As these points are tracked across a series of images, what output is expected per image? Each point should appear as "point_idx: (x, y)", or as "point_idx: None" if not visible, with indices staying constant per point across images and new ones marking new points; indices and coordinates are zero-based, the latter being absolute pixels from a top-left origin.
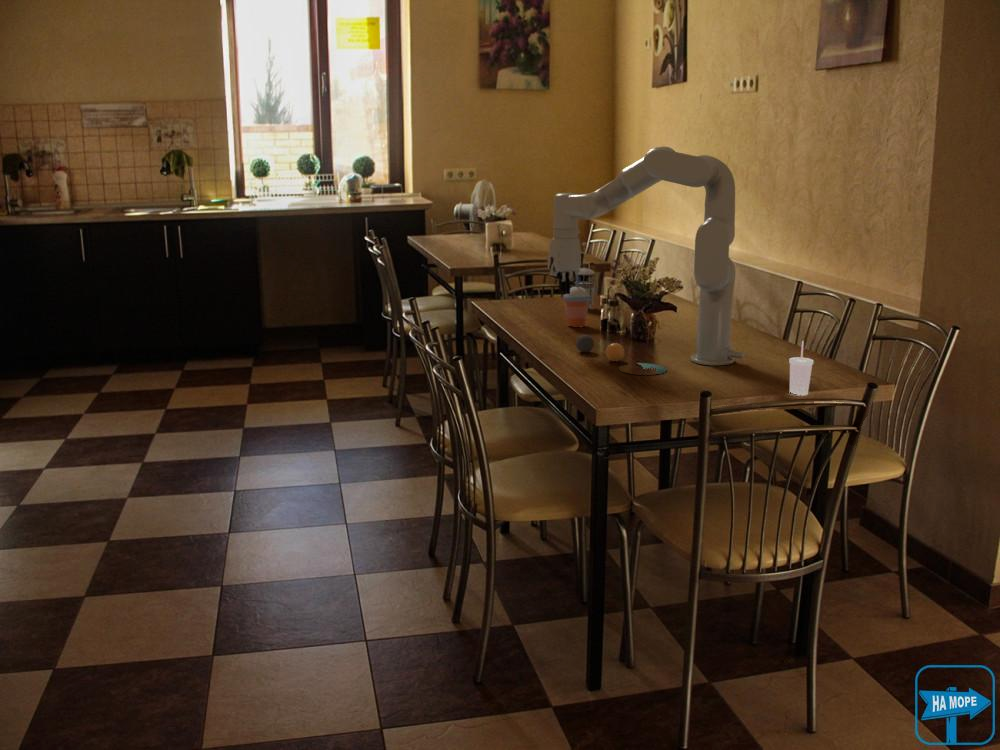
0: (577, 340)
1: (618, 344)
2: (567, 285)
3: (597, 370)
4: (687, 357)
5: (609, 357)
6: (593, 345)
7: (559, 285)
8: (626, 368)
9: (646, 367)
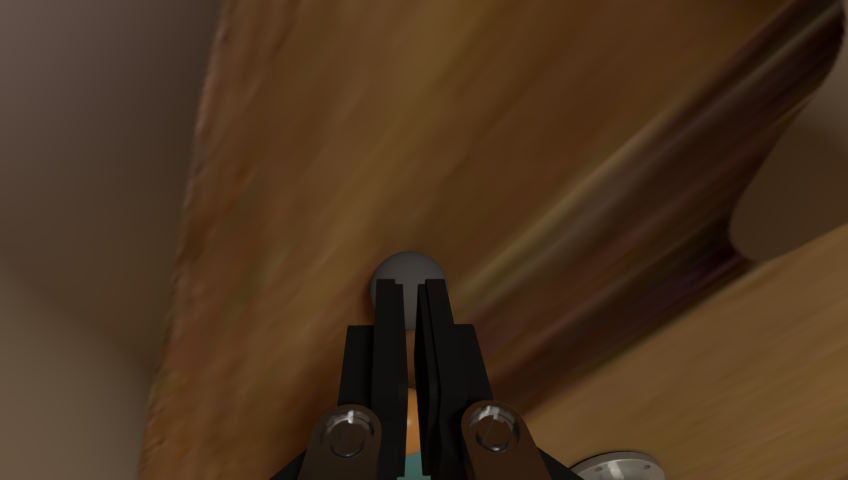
0: (374, 290)
1: (408, 455)
2: (421, 424)
3: (285, 436)
4: (600, 443)
5: None
6: None
7: (342, 378)
8: None
9: (420, 469)
